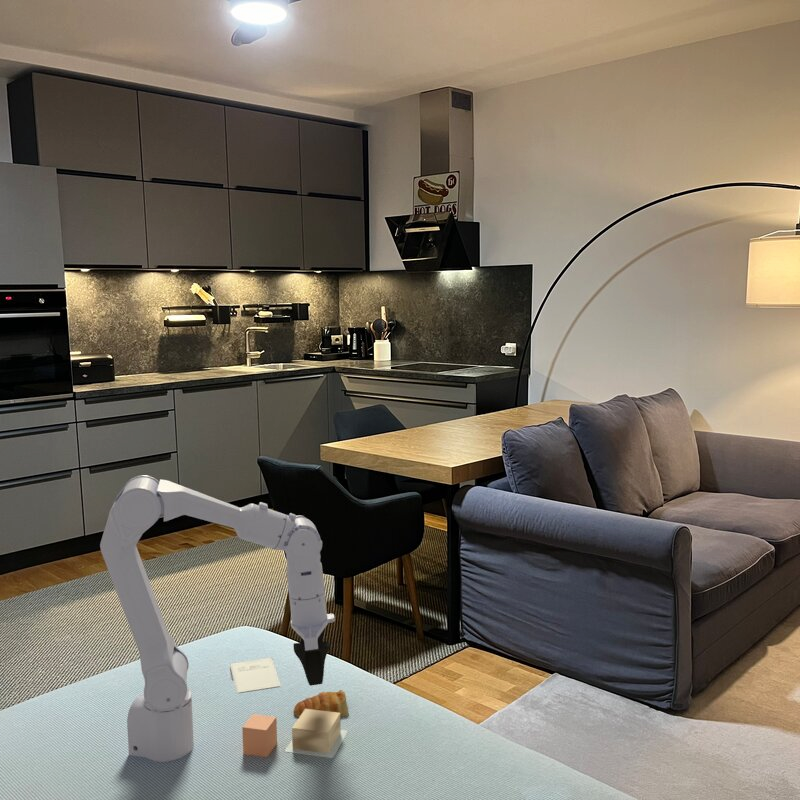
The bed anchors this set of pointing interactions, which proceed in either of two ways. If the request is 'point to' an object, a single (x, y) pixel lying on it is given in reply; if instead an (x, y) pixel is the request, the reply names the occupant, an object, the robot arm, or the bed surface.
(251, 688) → the external hard drive
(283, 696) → the bed surface
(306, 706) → the pastry
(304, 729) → the base block
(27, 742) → the bed surface
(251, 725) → the top block
